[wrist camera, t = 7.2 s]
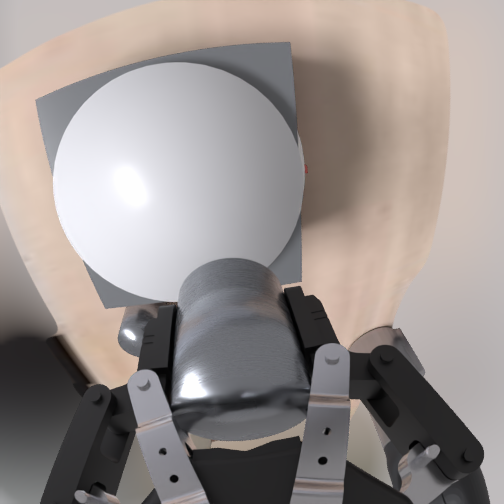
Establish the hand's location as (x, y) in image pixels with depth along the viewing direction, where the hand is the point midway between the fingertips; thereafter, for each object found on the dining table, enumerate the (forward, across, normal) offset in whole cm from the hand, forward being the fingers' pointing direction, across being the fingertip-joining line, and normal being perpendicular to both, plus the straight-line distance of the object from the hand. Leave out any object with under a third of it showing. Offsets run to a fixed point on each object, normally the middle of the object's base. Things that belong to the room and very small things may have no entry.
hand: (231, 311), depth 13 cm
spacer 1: (+17, +11, +13) cm, 24 cm away
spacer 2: (+1, 0, 0) cm, 1 cm away
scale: (+17, +3, -3) cm, 17 cm away
